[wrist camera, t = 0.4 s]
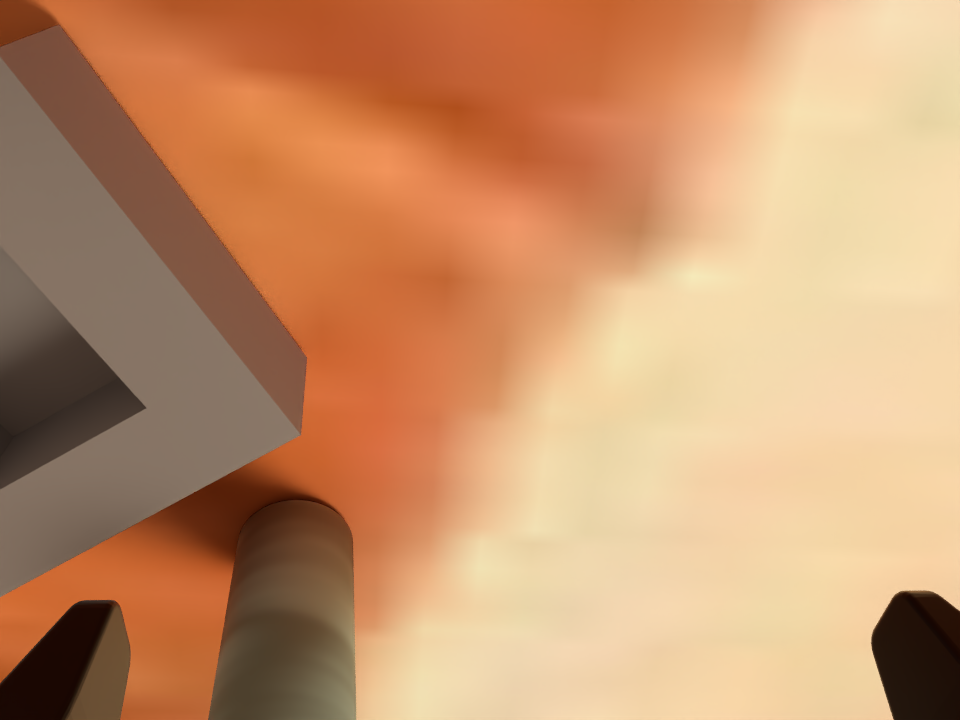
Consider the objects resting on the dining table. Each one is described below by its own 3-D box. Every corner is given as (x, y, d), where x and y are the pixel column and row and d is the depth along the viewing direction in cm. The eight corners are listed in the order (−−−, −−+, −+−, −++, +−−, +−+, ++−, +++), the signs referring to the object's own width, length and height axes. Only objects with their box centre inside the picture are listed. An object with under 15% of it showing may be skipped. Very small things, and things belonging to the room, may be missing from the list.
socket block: (17, 517, 24) (-37, 616, 21) (-287, 239, 20) (-423, 309, 16) (307, 357, 23) (300, 434, 20) (59, 24, 19) (-6, 49, 15)
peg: (280, 604, 28) (251, 923, 19) (214, 533, 26) (149, 848, 17) (373, 556, 27) (388, 858, 18) (313, 481, 25) (297, 775, 17)
